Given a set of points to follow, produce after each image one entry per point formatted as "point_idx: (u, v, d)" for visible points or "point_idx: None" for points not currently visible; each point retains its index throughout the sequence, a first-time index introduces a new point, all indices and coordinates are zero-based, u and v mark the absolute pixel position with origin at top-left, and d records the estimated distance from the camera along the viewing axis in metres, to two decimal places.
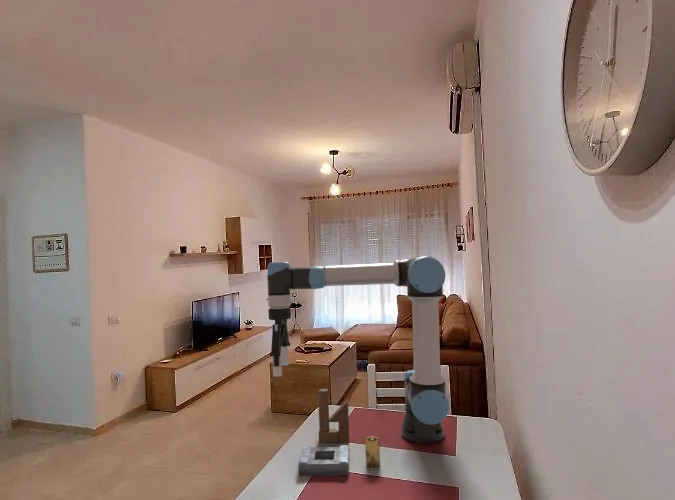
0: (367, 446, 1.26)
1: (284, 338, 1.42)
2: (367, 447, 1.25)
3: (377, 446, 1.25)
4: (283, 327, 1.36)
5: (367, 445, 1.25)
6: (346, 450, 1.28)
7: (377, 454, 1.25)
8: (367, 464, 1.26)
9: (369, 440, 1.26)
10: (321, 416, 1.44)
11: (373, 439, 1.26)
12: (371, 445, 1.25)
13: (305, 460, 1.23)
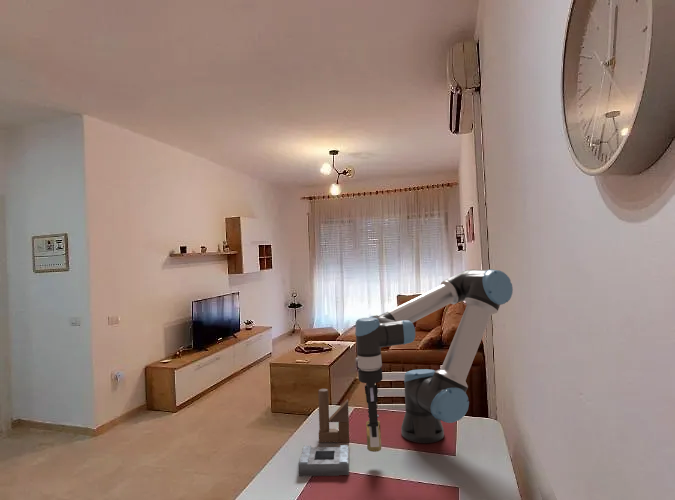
0: (368, 429, 1.26)
1: None
2: (368, 430, 1.26)
3: (378, 429, 1.26)
4: (376, 391, 1.25)
5: (368, 428, 1.26)
6: (346, 450, 1.28)
7: None
8: (368, 447, 1.26)
9: None
10: (321, 416, 1.44)
11: None
12: None
13: (305, 460, 1.23)
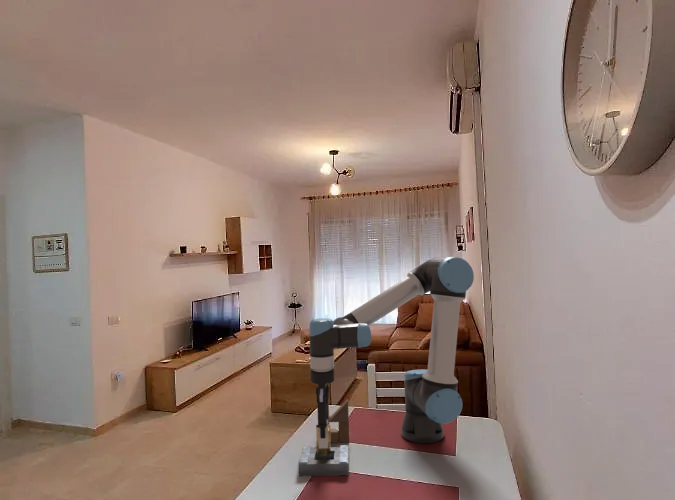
0: (317, 433, 1.26)
1: None
2: (318, 434, 1.26)
3: (328, 433, 1.26)
4: (326, 392, 1.26)
5: (318, 432, 1.26)
6: (346, 450, 1.28)
7: None
8: (317, 451, 1.26)
9: None
10: None
11: None
12: None
13: (305, 460, 1.23)
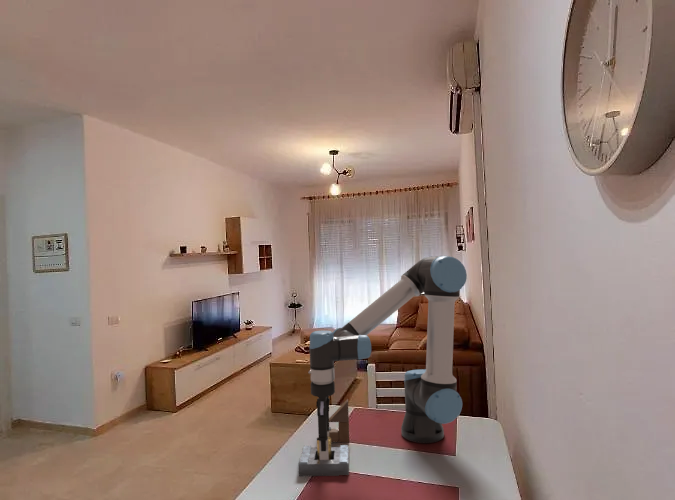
0: (318, 445, 1.26)
1: None
2: (318, 446, 1.26)
3: (328, 446, 1.25)
4: (327, 404, 1.25)
5: (318, 444, 1.26)
6: (346, 450, 1.28)
7: (328, 453, 1.25)
8: None
9: None
10: None
11: None
12: None
13: (305, 460, 1.23)
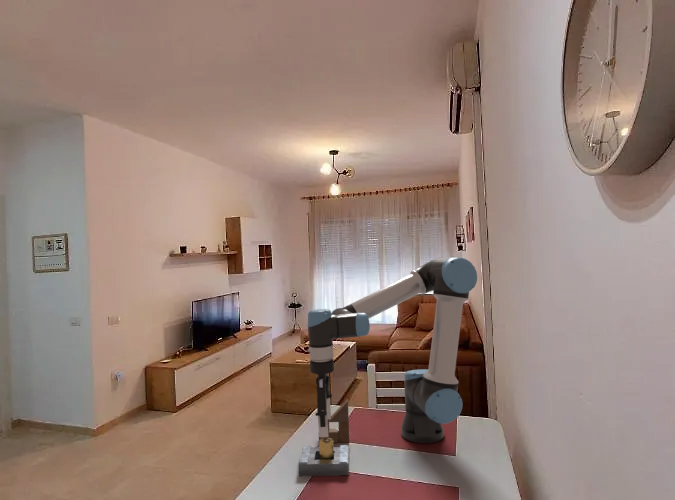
0: (320, 447, 1.25)
1: None
2: (321, 448, 1.25)
3: (331, 448, 1.25)
4: (326, 381, 1.26)
5: (321, 446, 1.25)
6: (346, 450, 1.28)
7: (330, 455, 1.25)
8: None
9: (323, 441, 1.26)
10: None
11: (327, 440, 1.26)
12: (325, 447, 1.25)
13: (305, 460, 1.23)
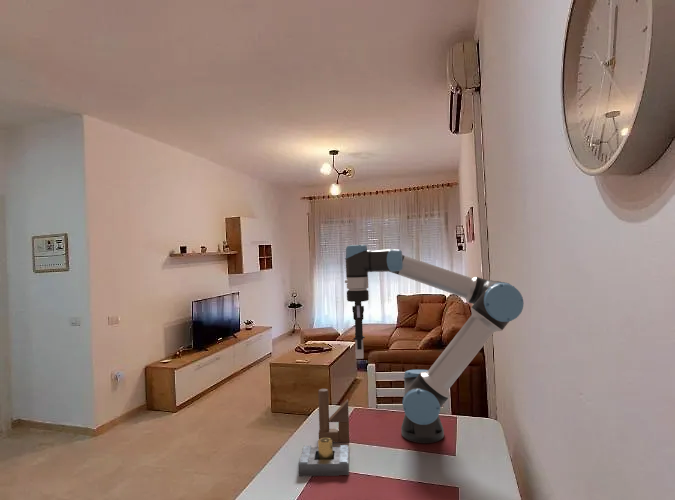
0: (320, 447, 1.25)
1: None
2: (320, 449, 1.25)
3: (330, 447, 1.25)
4: (362, 309, 1.38)
5: (320, 447, 1.25)
6: (346, 450, 1.28)
7: (330, 455, 1.25)
8: None
9: (322, 441, 1.26)
10: (321, 416, 1.44)
11: (326, 440, 1.27)
12: (324, 447, 1.25)
13: (305, 460, 1.23)
